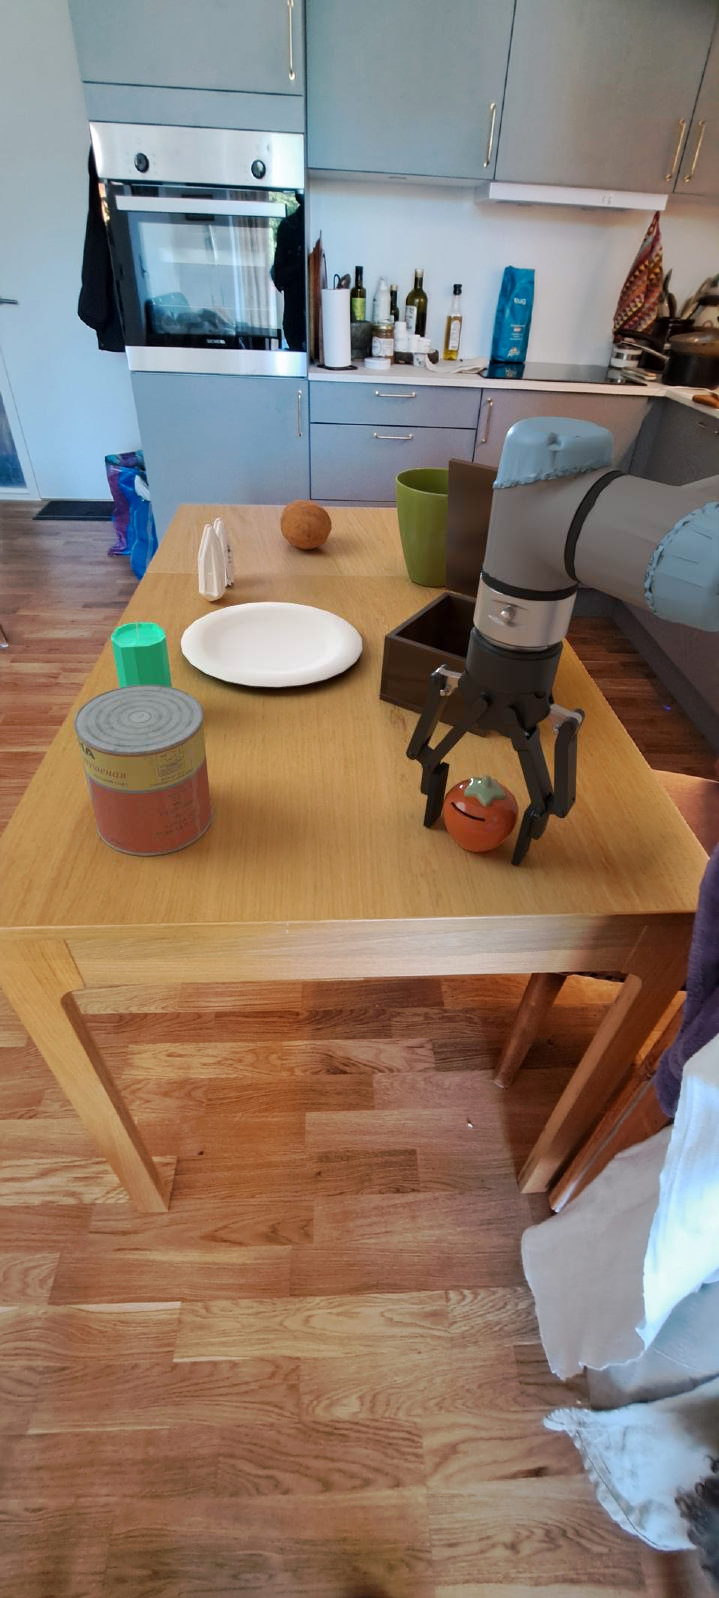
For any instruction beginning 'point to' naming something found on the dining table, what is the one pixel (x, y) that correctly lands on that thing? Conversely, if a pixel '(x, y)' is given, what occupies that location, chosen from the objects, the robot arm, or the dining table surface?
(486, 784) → the tomato
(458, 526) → the lid
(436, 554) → the flower pot
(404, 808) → the dining table surface
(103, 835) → the canned food
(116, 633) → the candle
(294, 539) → the brown coconut
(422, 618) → the dark wooden box
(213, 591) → the shaker set
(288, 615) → the plate
